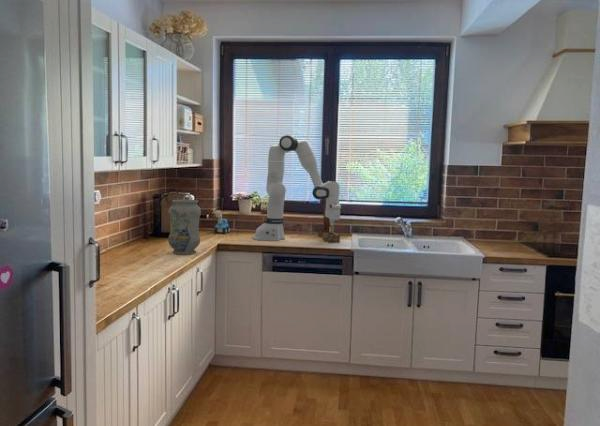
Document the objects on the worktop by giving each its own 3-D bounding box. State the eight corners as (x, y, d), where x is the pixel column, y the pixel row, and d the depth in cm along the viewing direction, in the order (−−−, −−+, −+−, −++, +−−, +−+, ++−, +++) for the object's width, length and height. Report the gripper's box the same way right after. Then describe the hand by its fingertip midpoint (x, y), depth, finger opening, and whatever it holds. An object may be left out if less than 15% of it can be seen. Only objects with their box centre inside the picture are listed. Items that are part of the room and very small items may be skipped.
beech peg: (329, 241, 335) (330, 226, 334) (328, 240, 338) (328, 226, 337) (334, 241, 336) (334, 226, 335) (332, 240, 339) (333, 226, 338)
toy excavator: (210, 234, 350) (210, 210, 348) (219, 231, 366) (219, 208, 364) (222, 235, 348) (222, 211, 346) (230, 232, 364) (230, 208, 362)
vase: (174, 249, 291) (174, 198, 288) (204, 250, 289) (205, 199, 286) (163, 254, 273) (163, 200, 270) (195, 256, 271) (195, 201, 268)
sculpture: (316, 235, 360) (318, 194, 357) (327, 235, 364) (329, 194, 361) (324, 238, 348) (326, 195, 345) (336, 237, 352) (337, 195, 349)
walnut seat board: (327, 242, 331) (327, 235, 331) (322, 240, 341) (322, 232, 340) (339, 242, 334) (340, 235, 333) (334, 239, 343) (335, 232, 343)
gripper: (323, 203, 344) (322, 223, 345) (333, 206, 324) (332, 227, 326) (331, 203, 345) (331, 223, 347) (342, 206, 326) (341, 227, 327)
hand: (331, 225), depth 336 cm, fingers closed
